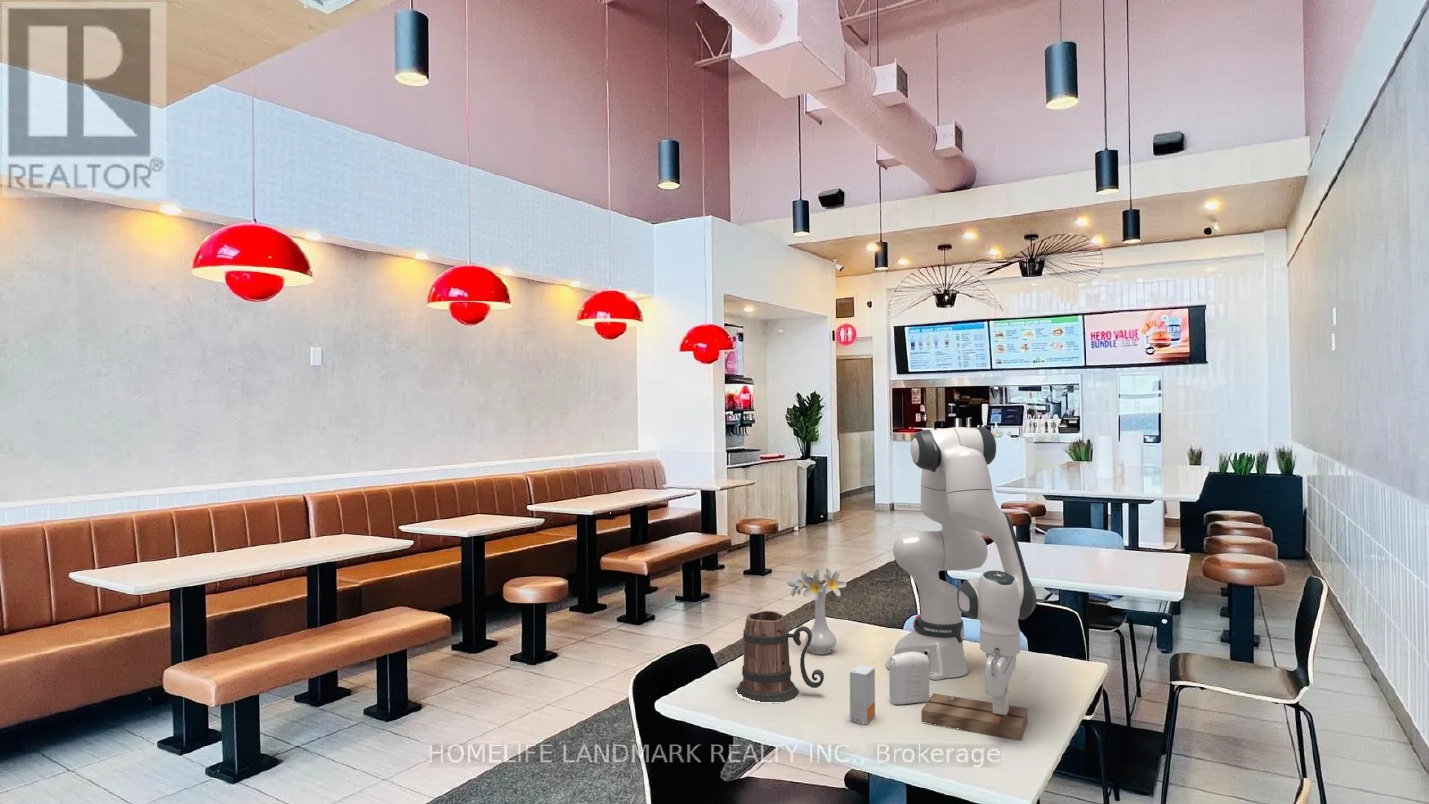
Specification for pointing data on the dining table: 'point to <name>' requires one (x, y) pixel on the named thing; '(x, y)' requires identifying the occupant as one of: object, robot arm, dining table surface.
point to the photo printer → (909, 678)
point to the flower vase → (818, 606)
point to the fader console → (974, 716)
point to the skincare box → (862, 694)
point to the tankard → (771, 659)
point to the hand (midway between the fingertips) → (1000, 702)
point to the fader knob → (1005, 707)
